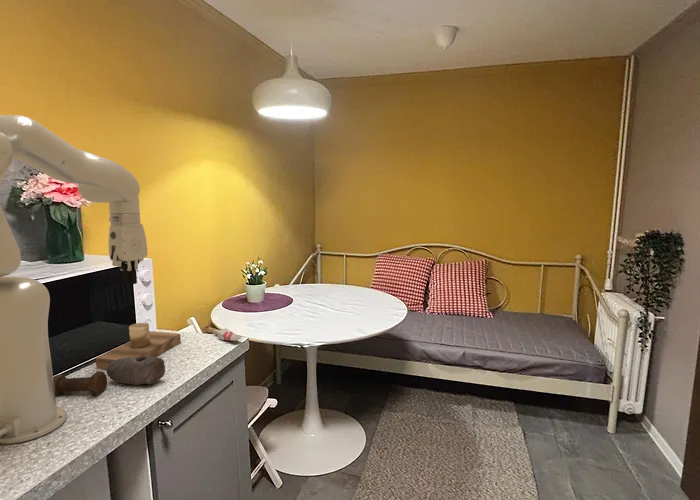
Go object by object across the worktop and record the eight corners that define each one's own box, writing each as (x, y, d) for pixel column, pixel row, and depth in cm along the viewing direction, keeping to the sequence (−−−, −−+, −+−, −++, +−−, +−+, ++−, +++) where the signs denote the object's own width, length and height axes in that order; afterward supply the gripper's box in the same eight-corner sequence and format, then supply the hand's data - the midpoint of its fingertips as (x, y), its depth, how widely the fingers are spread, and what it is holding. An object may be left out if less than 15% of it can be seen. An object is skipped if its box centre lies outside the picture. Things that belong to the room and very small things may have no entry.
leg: (142, 357, 123) (140, 329, 121) (127, 355, 124) (124, 327, 123) (154, 350, 128) (152, 323, 126) (139, 349, 129) (137, 322, 128)
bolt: (43, 399, 104) (105, 396, 104) (28, 398, 99) (93, 396, 99) (48, 374, 106) (109, 372, 106) (34, 372, 101) (97, 369, 101)
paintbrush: (232, 336, 132) (199, 325, 145) (233, 345, 132) (200, 333, 146) (243, 333, 135) (210, 322, 148) (243, 341, 135) (210, 330, 148)
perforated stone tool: (101, 385, 107) (98, 359, 106) (115, 376, 112) (113, 351, 111) (155, 389, 104) (153, 363, 103) (168, 380, 109) (166, 354, 108)
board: (130, 372, 114) (129, 361, 114) (96, 368, 117) (95, 358, 116) (180, 342, 135) (180, 333, 135) (150, 340, 138) (150, 331, 137)
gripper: (116, 221, 111) (121, 290, 114) (155, 218, 126) (159, 279, 128) (92, 221, 113) (98, 289, 116) (133, 218, 128) (138, 278, 130)
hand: (130, 283), depth 122 cm, fingers closed
